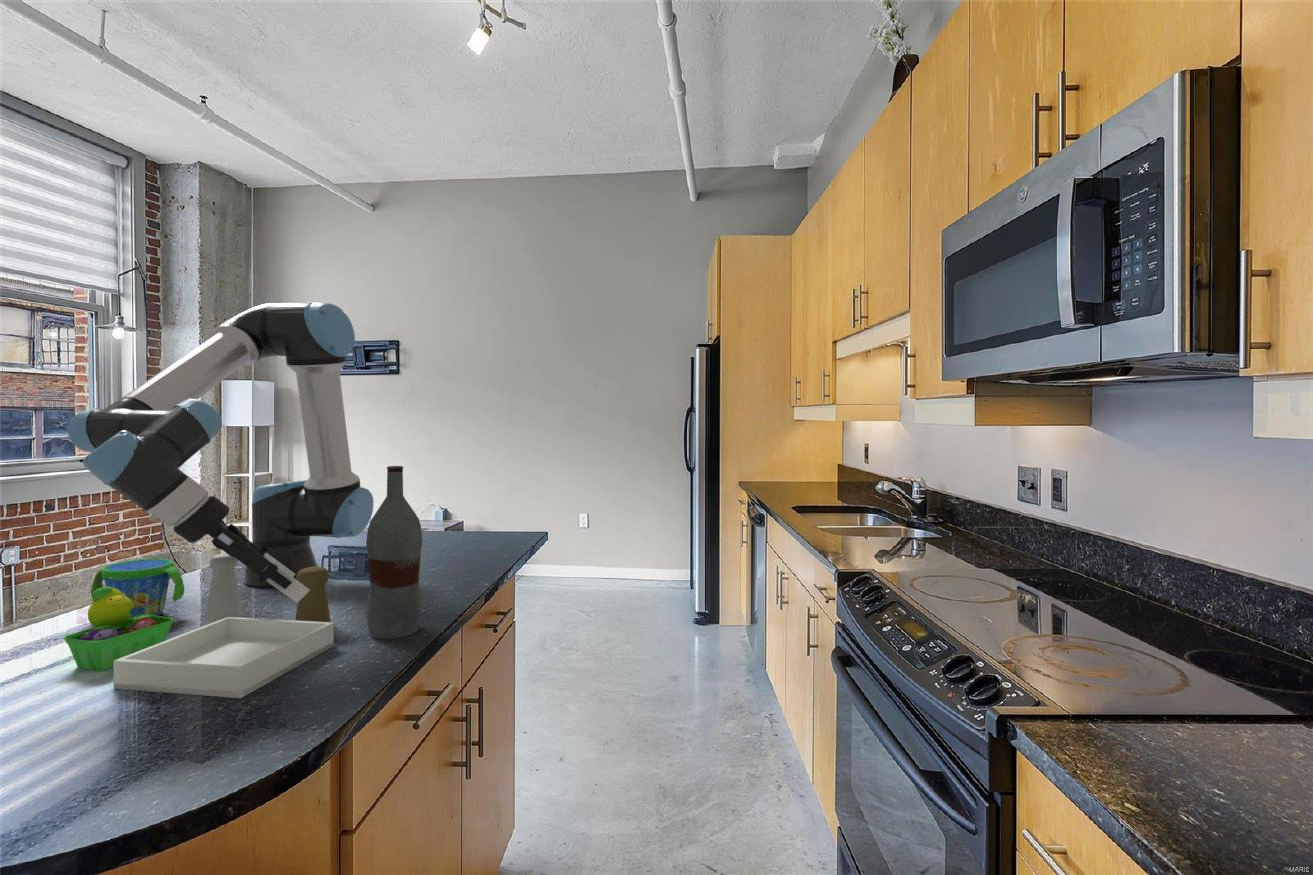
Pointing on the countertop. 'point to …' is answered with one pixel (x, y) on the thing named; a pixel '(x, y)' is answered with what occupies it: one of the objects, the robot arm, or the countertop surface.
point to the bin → (224, 657)
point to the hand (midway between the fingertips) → (296, 587)
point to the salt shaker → (223, 590)
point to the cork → (313, 595)
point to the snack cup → (142, 583)
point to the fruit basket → (114, 631)
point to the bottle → (394, 564)
